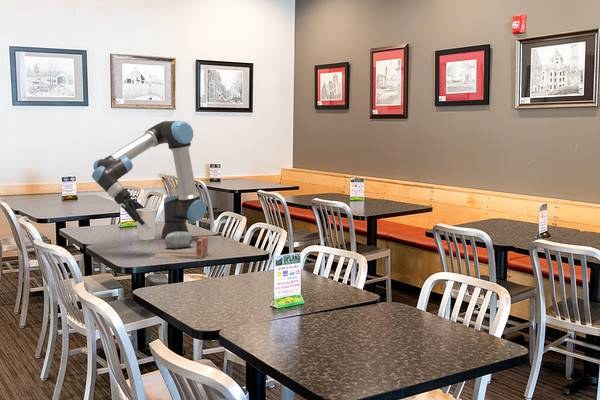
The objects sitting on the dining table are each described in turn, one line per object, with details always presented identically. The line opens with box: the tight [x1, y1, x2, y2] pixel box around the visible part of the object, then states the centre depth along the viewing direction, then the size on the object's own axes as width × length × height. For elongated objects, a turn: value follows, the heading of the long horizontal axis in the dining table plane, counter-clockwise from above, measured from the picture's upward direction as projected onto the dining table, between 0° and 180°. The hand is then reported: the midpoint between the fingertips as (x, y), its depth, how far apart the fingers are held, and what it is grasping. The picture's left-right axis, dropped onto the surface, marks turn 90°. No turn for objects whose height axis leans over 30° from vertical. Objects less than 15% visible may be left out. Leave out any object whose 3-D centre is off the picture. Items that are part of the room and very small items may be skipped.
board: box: [154, 236, 209, 260], centre depth 309 cm, size 12×22×8 cm, turn 82°
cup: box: [136, 207, 156, 242], centre depth 310 cm, size 7×7×15 cm
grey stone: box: [164, 232, 193, 250], centre depth 330 cm, size 14×10×10 cm
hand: (152, 227), depth 310 cm, fingers closed on cup, 9 cm apart
